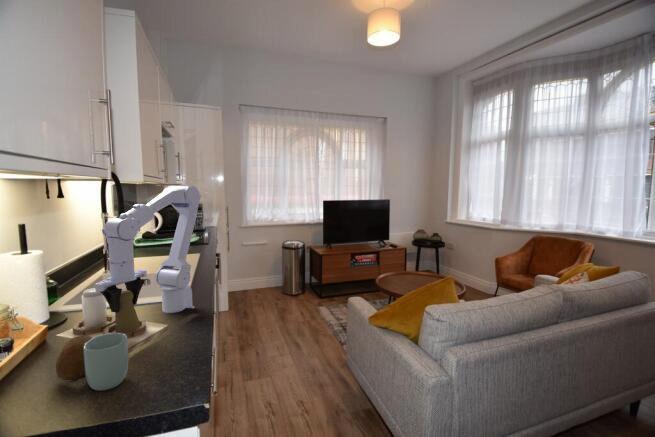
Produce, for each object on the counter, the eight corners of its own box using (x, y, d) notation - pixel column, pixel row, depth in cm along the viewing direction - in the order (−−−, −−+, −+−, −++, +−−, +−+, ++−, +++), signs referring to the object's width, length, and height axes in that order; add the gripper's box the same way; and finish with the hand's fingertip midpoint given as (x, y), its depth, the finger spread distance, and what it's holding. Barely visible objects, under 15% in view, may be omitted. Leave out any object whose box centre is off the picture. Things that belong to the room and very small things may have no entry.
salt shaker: (97, 321, 94) (95, 286, 93) (112, 324, 93) (109, 288, 92) (78, 329, 89) (76, 292, 88) (93, 332, 87) (91, 294, 86)
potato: (112, 355, 79) (110, 322, 78) (95, 383, 68) (92, 345, 67) (71, 361, 76) (69, 327, 75) (47, 391, 65) (44, 352, 64)
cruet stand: (103, 319, 99) (103, 310, 99) (168, 329, 93) (168, 320, 93) (56, 340, 86) (55, 330, 85) (128, 353, 79) (128, 342, 79)
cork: (130, 332, 84) (123, 293, 84) (110, 334, 85) (103, 296, 84) (145, 323, 90) (138, 287, 90) (126, 325, 91) (120, 289, 90)
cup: (80, 400, 62) (77, 353, 61) (92, 378, 69) (89, 336, 68) (126, 390, 65) (123, 346, 64) (132, 370, 72) (130, 330, 71)
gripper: (109, 268, 78) (111, 320, 79) (154, 256, 92) (155, 300, 93) (87, 266, 80) (90, 316, 81) (135, 255, 94) (137, 298, 95)
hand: (124, 307), depth 87 cm, fingers open, 5 cm apart
